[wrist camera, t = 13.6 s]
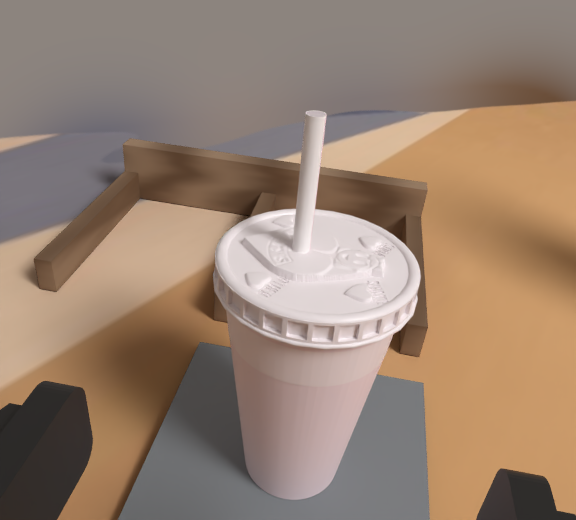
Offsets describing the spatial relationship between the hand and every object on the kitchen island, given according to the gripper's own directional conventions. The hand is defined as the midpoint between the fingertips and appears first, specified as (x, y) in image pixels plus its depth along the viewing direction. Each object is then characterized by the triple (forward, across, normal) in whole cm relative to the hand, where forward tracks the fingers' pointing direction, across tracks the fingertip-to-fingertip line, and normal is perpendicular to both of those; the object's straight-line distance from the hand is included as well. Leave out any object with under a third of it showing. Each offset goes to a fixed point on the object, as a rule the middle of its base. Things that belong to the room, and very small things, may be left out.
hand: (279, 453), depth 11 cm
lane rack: (+22, +5, +10) cm, 25 cm away
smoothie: (+7, 0, +10) cm, 12 cm away
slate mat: (+8, 0, +10) cm, 13 cm away
